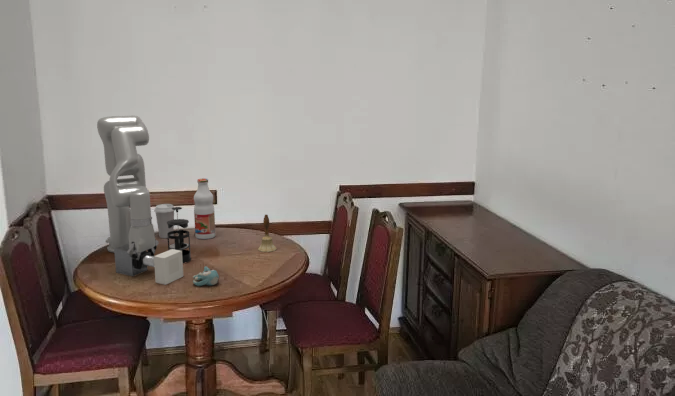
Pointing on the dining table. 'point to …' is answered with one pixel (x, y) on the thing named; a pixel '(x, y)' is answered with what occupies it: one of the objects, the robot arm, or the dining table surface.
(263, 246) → the hand bell
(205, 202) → the fruit juice
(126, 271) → the grey metal block
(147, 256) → the rod
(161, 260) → the socket
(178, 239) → the french press
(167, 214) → the coffee cup
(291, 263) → the dining table surface
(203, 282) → the stuffed animal
